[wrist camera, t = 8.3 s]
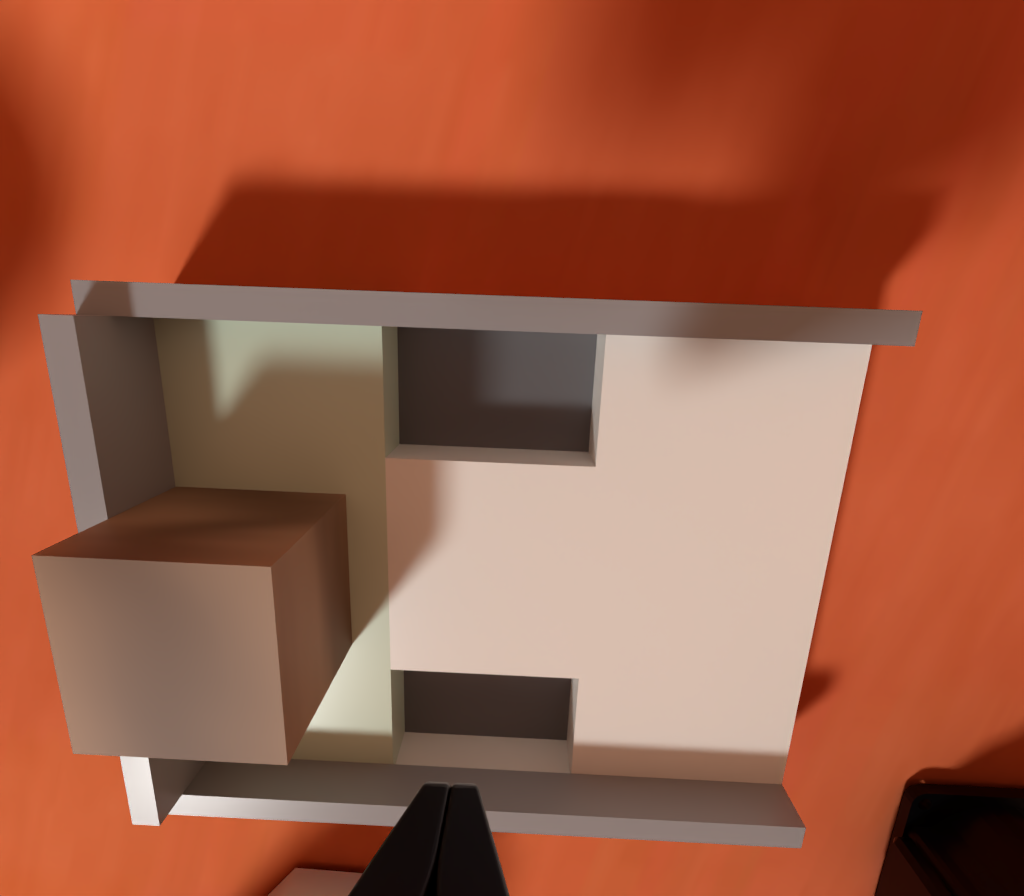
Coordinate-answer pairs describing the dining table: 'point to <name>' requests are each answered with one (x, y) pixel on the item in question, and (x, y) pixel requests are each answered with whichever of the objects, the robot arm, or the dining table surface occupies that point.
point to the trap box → (503, 534)
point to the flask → (316, 883)
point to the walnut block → (200, 623)
